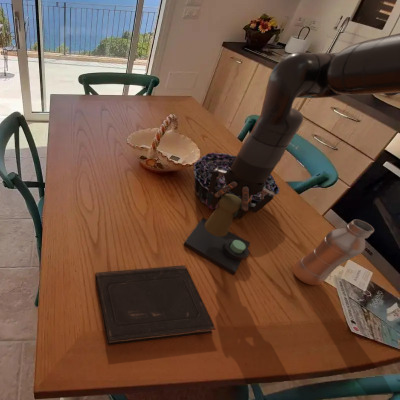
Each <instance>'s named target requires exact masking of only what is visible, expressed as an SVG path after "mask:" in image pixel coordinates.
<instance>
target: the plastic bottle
mask: <svg viewBox="0 0 400 400" xmlns="http://www.w3.org/2000/svg"><path fill="white" fill-rule="evenodd" d="M374 232H375V228H374V227H373V226H372V225H371V224H369V223H368V222H366V221H364V220H363V219H362V220H361V219H358V218H357V219H356V218H355V219H353V220H352V221H350V222H349V223H347V225H346V226H345V227H340V228H334V229H332V230H329V231H328V232H327V234H326V235H325V236H324V237H323V238H322V240H321V241H320V243H319V244H318V245H317V246H316V247H315V248H314V249H313V250H311V252H309V253H308V254H306V255H305V256H303V257H301V258H299V259H298V260H296V261H295V262H294V264H293V266H292V272H293V275H294V276H295V277H296V278H297V279H298V280H299V281H300V282H302V283H304V284H306V285H310V286H311V285H312V286H317V285H320V284H322V283H324V282H325V281H326V280H327V279H328V278H329V276H330V275H331V274H332V273H333V272H334V271H335V270H336V269H337V268H339V267H340V266H341V265H343V264H344V263H346V262H348V261H349V260H351V259H353V258H355V257H358V256H359V255H361V254H362V253H363V252H364V251H365V249H366V240H365V239H368V238H369V237H370V236H371V235H372V234H373V233H374Z"/></svg>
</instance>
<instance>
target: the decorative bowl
mask: <svg viewBox="0 0 400 400" xmlns="http://www.w3.org/2000/svg"><path fill="white" fill-rule="evenodd" d="M236 157H237V155H233V154H229V153H224V152H223V153H222V152H209V153H206V154H205V155H202V157H200V158H199V159H198V160H196V161H195V162H194V163H193V173H194V190H195V195H196V196H197V197H198V199H199V201H200V202H201V203H203V204H205V205H206V207H207V208H208V209H210V210H215V209H216V208H217V207H218V205H219V204H218V203H217V205H216V206H215V208H212V205H210V203H211V201H212V199H213V197H214V194H213V193H212V192H210V191H209V185H210V180H211V175H212V172H213V171H214V170H215V169H216V168H217V167H219V168H220V169H221V170H223V171H227V170H229V169H230V168H231V166H232V164H233V162H234V160H235V158H236ZM225 184H226V181H225V178H224V176H222V177H221V178H220V179H219V180H218V185H217V187H218V188H219V189H220V188H221V187H223V186H224V185H225ZM264 185H265V186H264V187H265V188H266V189H268V190H269V191H271V190H273V191H275V195H274V196H276V195H279V194H280V191H281V188H280V187H279V185H278V184H277V183H276V180H275V178H274V177H273V175H272V173H271V174H270V175H269V177H268V178H267V180H266V181H265V183H264ZM225 194H233V195H236V196H237V197H239V198H240V199H241V201H242V197H241V196H239V195H238V194H236V193H232V192H230V191H228V192H226V193H225ZM223 195H224V194H223ZM261 195H262V193H261V192H259V193H256V194H253V195H252V198H251V203H252V204H255V203H256V202H258V201H259V200H260V199H261ZM218 202H219V201H218ZM242 204H243V202H242ZM237 213H238V212H235V215H234V217H235V216H236V215H237ZM246 213H249V211H246Z"/></svg>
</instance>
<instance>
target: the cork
mask: <svg viewBox="0 0 400 400" xmlns="http://www.w3.org/2000/svg"><path fill="white" fill-rule="evenodd" d="M218 204H219V205H218V207H217V208H216V209H214V210H213V212H212V213H211V215H210V216H209V217H208V218H207V221H206V223H205V228H206V230H207V231H208V232H209V233H211V234H212V235H215V236H219V237H222V236H226V235H227V234H228V231H229V232H230V229H231V226H232V223H233V220H234V218H235V216H234V215H235V212H238V211H239V210H240V208H241V207H242V201H241V199H240V198H239V197H237V196H236V195H233V194H224V195H222V196H221V197H220V199H219V202H218Z"/></svg>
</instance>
